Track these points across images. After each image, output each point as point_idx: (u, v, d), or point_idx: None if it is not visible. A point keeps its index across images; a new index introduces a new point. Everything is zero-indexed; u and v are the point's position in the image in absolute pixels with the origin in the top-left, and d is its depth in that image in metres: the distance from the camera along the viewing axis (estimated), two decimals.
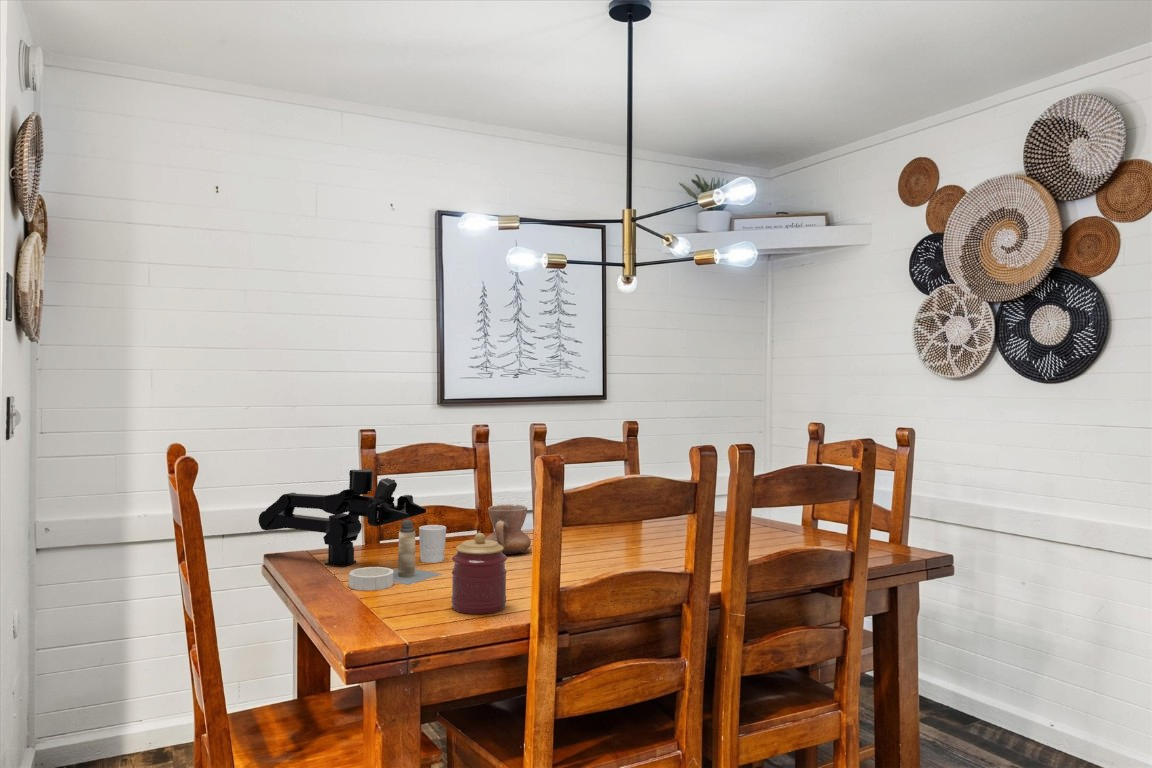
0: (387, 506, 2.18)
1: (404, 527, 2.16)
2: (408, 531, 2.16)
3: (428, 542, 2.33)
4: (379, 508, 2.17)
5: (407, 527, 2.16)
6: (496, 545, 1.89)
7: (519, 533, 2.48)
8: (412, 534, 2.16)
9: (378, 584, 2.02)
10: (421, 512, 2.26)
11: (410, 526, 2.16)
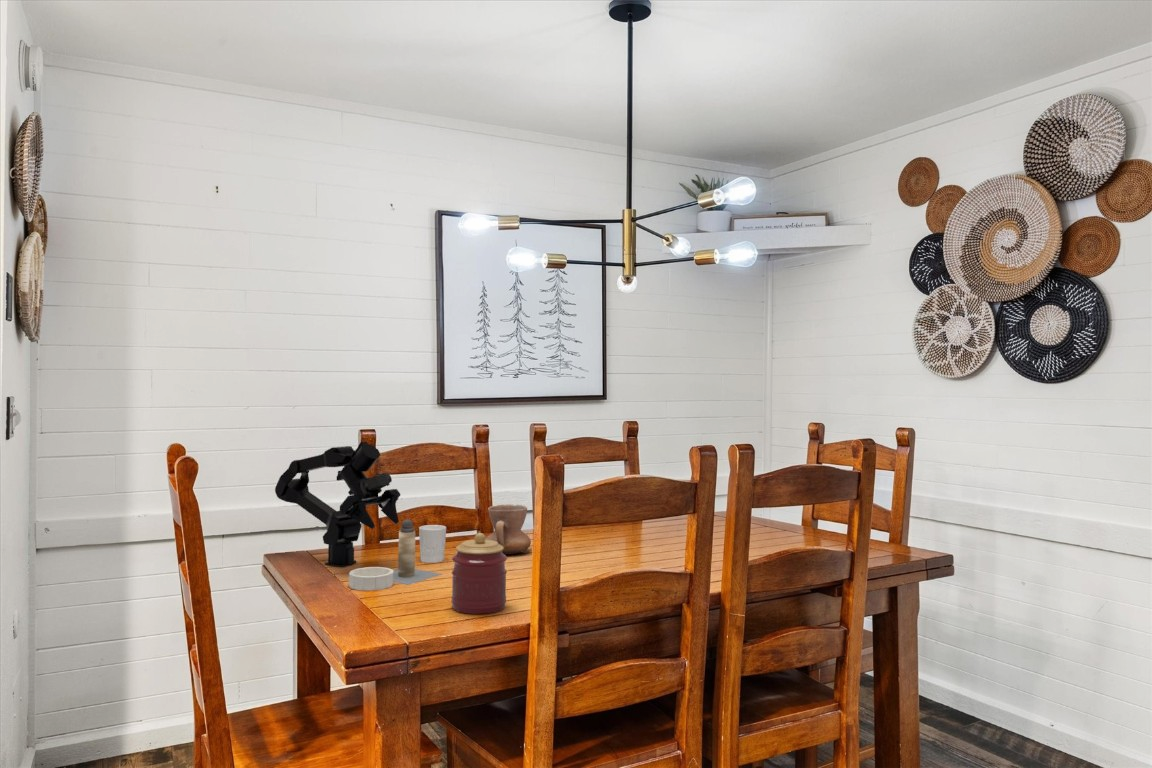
0: (363, 506, 2.18)
1: (404, 527, 2.16)
2: (408, 531, 2.16)
3: (428, 542, 2.33)
4: (355, 505, 2.17)
5: (407, 527, 2.16)
6: (496, 545, 1.89)
7: (519, 533, 2.48)
8: (412, 534, 2.16)
9: (378, 584, 2.02)
10: (393, 520, 2.26)
11: (410, 526, 2.16)
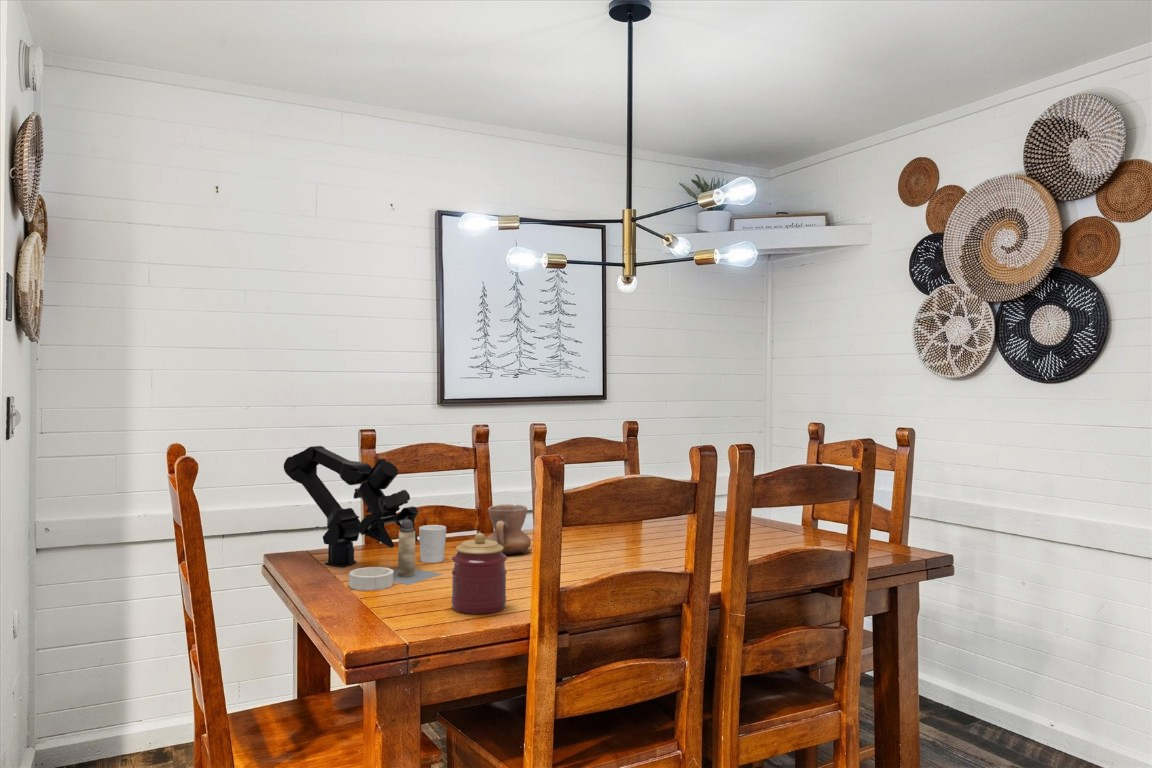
0: (382, 525, 2.14)
1: (404, 527, 2.16)
2: (408, 531, 2.16)
3: (428, 542, 2.33)
4: (373, 524, 2.13)
5: (407, 527, 2.16)
6: (496, 545, 1.89)
7: (519, 533, 2.48)
8: (412, 534, 2.16)
9: (378, 584, 2.02)
10: None
11: (410, 526, 2.16)
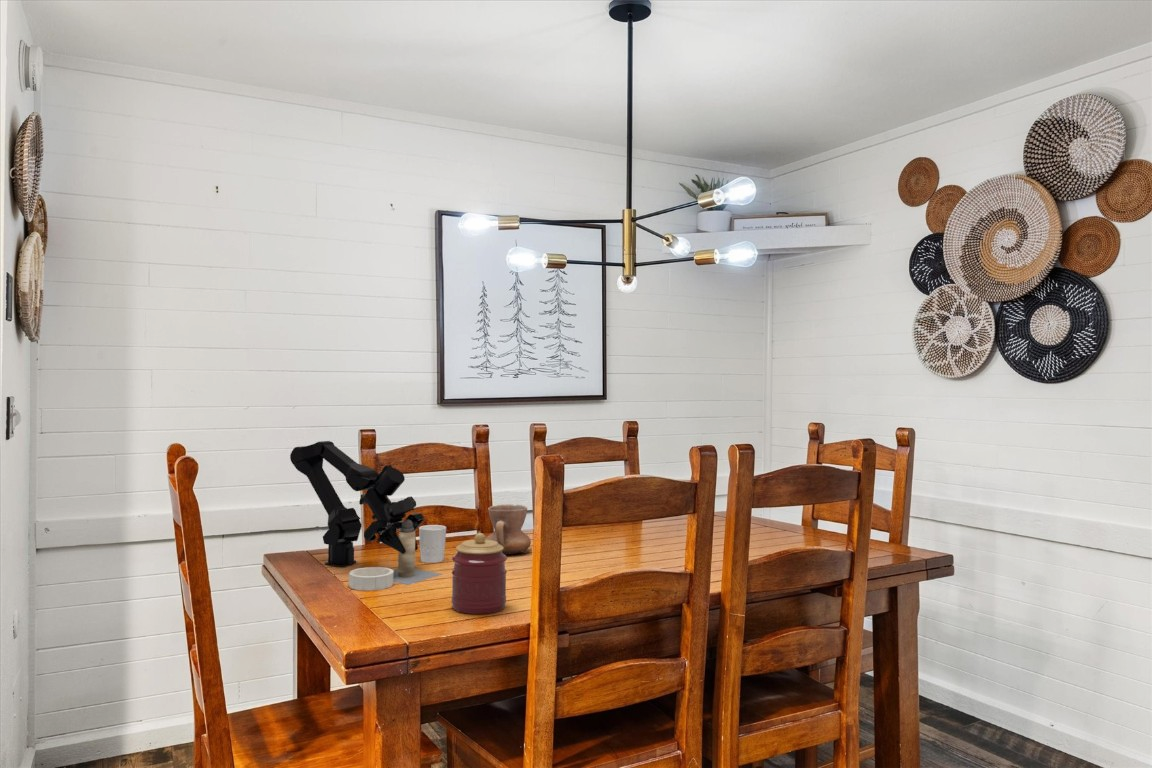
0: (394, 531, 2.15)
1: (404, 527, 2.16)
2: (408, 531, 2.16)
3: (428, 542, 2.33)
4: (385, 530, 2.14)
5: (407, 527, 2.16)
6: (496, 545, 1.89)
7: (519, 533, 2.48)
8: (412, 534, 2.16)
9: (378, 584, 2.02)
10: None
11: (410, 526, 2.16)
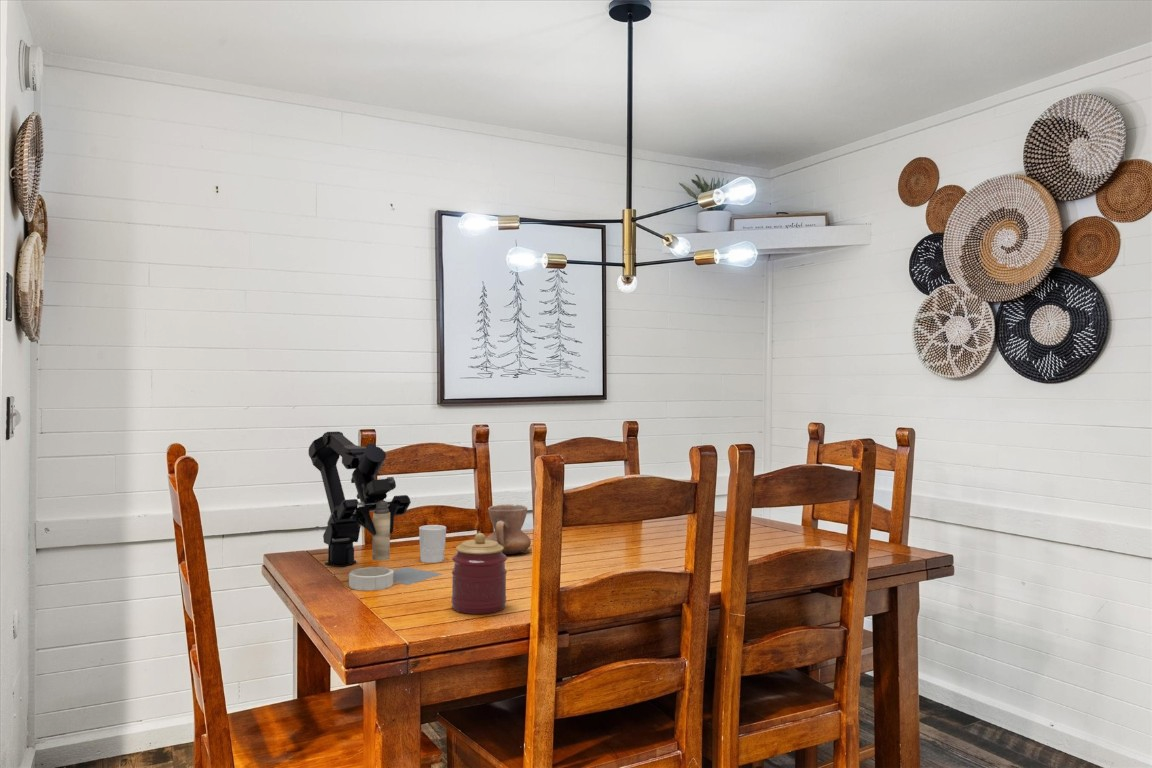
0: (366, 511, 2.08)
1: (377, 508, 2.08)
2: (380, 512, 2.07)
3: (428, 542, 2.33)
4: (357, 509, 2.07)
5: (379, 508, 2.08)
6: (496, 545, 1.89)
7: (519, 533, 2.48)
8: (384, 516, 2.07)
9: (378, 584, 2.02)
10: None
11: (383, 507, 2.08)
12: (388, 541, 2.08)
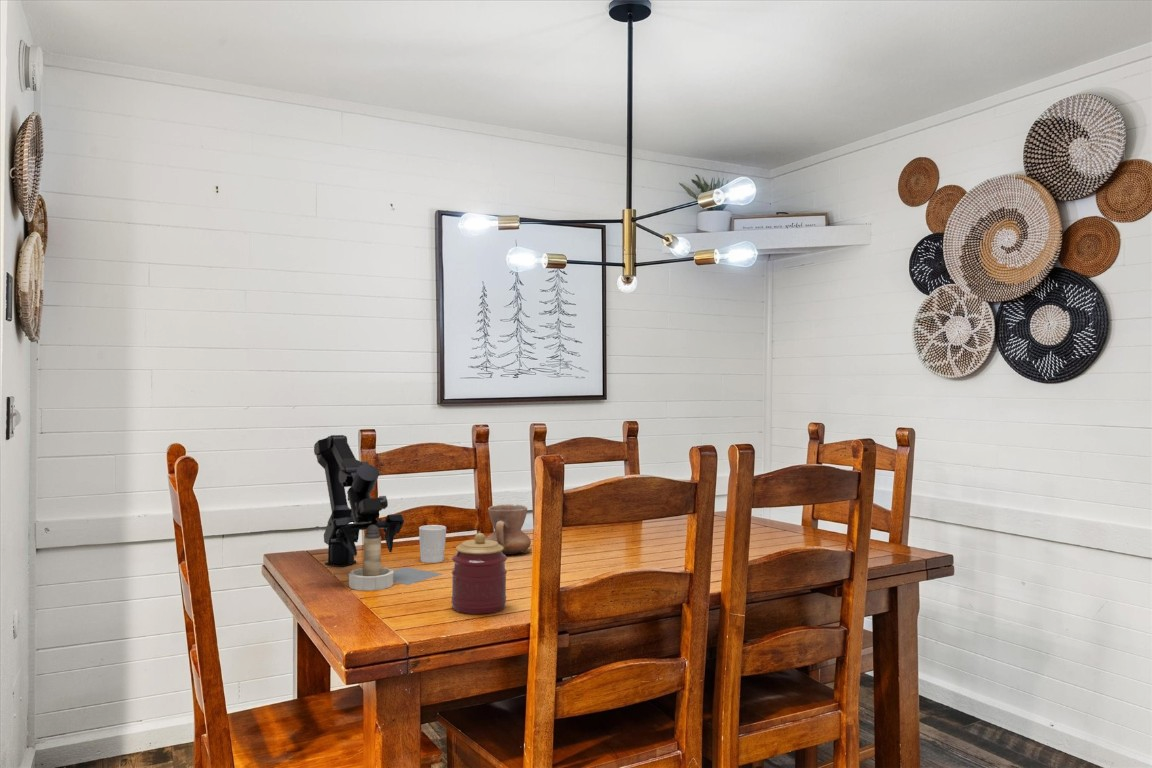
0: (348, 531, 2.05)
1: (367, 532, 2.06)
2: (370, 537, 2.05)
3: (428, 542, 2.33)
4: (339, 529, 2.05)
5: (370, 533, 2.06)
6: (496, 545, 1.89)
7: (519, 533, 2.48)
8: (374, 541, 2.05)
9: (378, 584, 2.02)
10: (388, 548, 2.10)
11: (373, 532, 2.06)
12: (378, 566, 2.06)
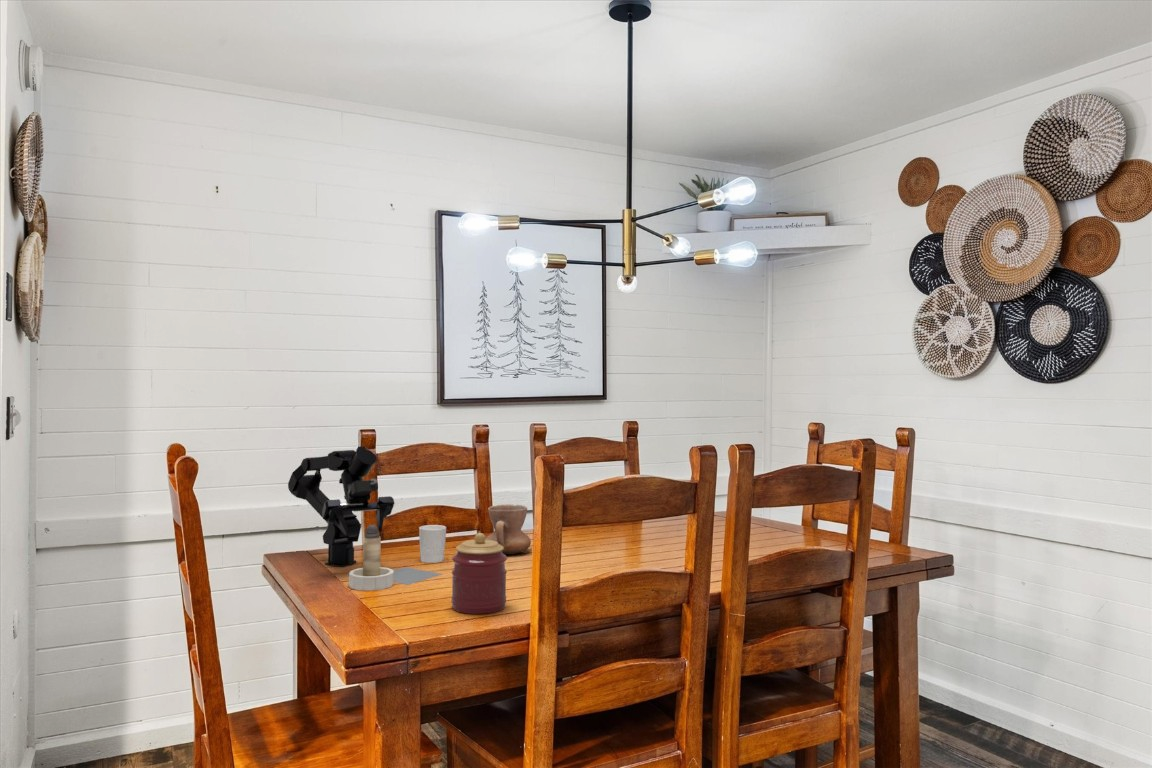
0: (339, 512, 2.15)
1: (367, 532, 2.06)
2: (369, 537, 2.06)
3: (428, 542, 2.33)
4: (331, 510, 2.15)
5: (369, 533, 2.06)
6: (496, 545, 1.89)
7: (519, 533, 2.48)
8: (373, 540, 2.05)
9: (378, 584, 2.02)
10: (378, 529, 2.19)
11: (372, 532, 2.06)
12: (378, 566, 2.07)
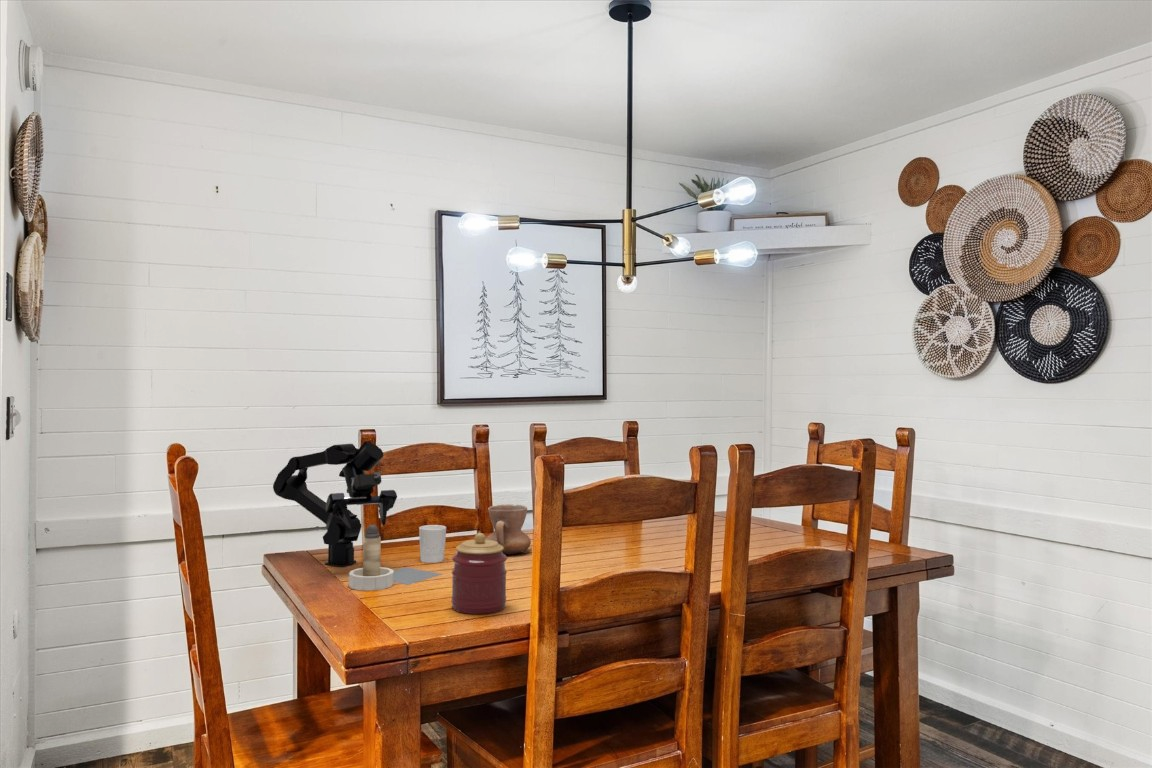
0: (343, 505, 2.16)
1: (367, 532, 2.06)
2: (369, 537, 2.06)
3: (428, 542, 2.33)
4: (335, 503, 2.16)
5: (369, 533, 2.06)
6: (496, 545, 1.89)
7: (519, 533, 2.48)
8: (373, 540, 2.05)
9: (378, 584, 2.02)
10: (382, 522, 2.21)
11: (372, 532, 2.06)
12: (378, 566, 2.07)
